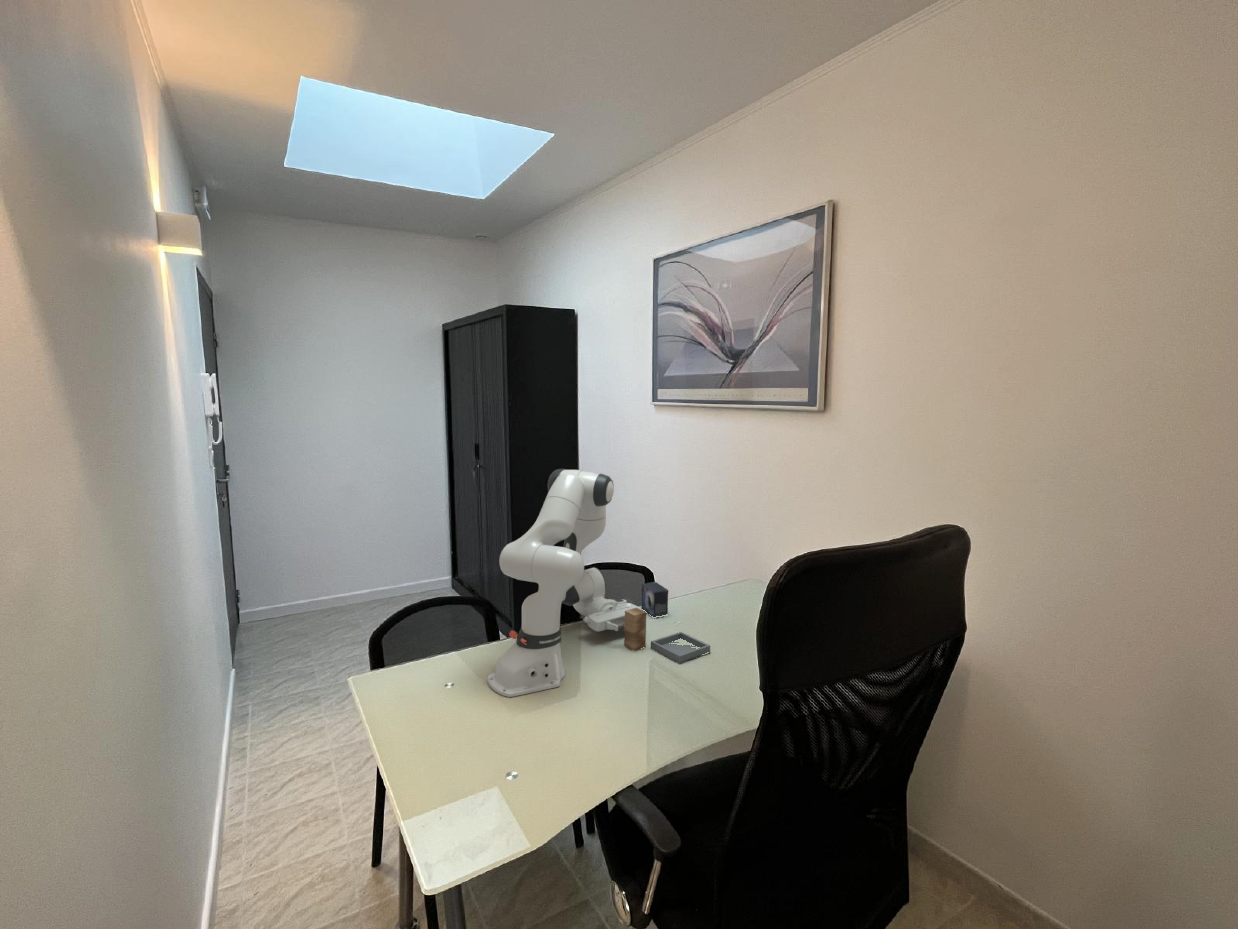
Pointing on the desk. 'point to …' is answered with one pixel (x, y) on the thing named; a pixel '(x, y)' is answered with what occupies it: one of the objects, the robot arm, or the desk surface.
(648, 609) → the small box
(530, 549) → the robot arm
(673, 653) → the tray
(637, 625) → the walnut block
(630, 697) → the desk surface
